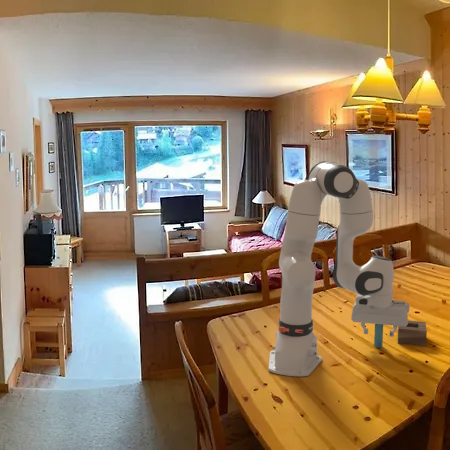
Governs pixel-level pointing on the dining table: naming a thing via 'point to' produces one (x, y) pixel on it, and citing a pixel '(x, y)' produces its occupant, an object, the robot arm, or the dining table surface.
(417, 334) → the walnut hole block
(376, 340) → the teal peg
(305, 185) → the robot arm
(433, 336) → the dining table surface
